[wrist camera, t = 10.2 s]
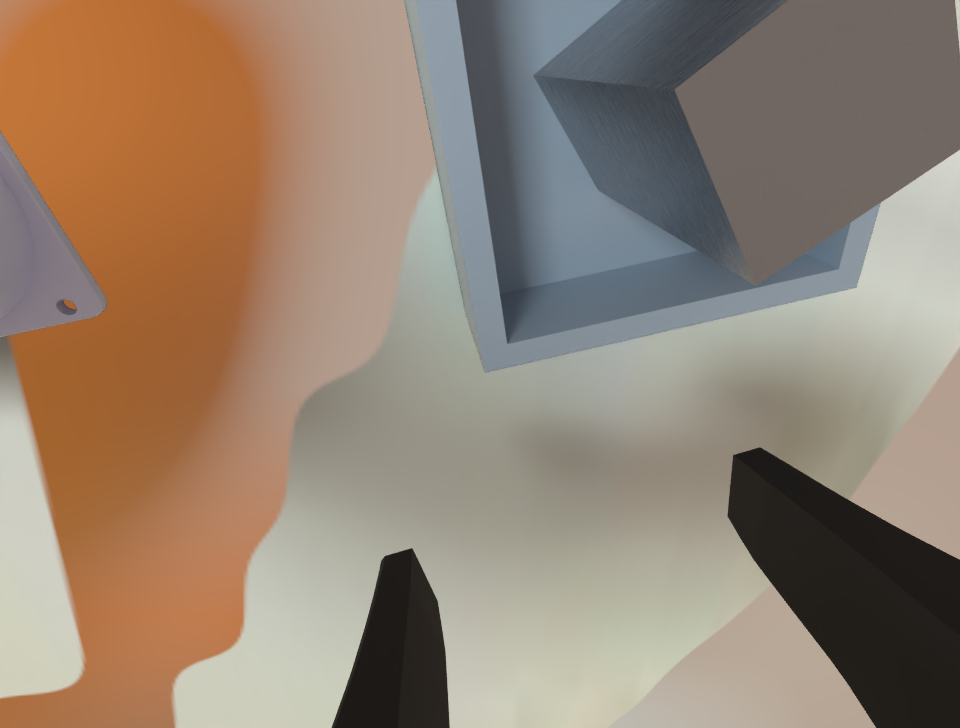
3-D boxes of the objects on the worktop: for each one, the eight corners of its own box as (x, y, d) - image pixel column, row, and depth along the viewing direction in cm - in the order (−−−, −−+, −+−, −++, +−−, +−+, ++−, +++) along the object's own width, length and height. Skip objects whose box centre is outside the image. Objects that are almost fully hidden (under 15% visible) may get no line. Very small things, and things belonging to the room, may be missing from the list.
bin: (465, 314, 18) (484, 372, 15) (378, -133, 12) (376, -211, 8) (771, 246, 19) (856, 287, 15) (851, -212, 12) (1028, -315, 9)
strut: (598, 190, 16) (756, 285, 9) (533, 75, 14) (674, 89, 7) (707, 106, 15) (968, 144, 8) (655, -29, 13) (943, -122, 6)
